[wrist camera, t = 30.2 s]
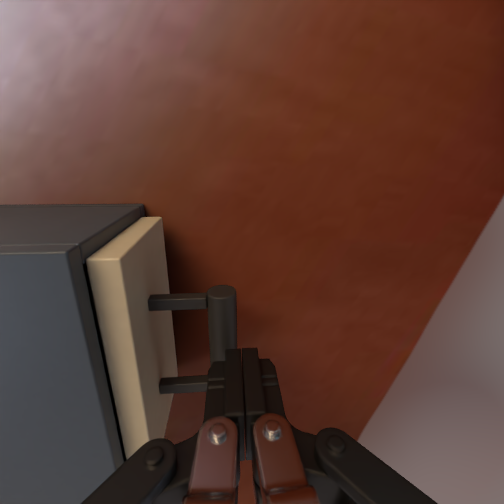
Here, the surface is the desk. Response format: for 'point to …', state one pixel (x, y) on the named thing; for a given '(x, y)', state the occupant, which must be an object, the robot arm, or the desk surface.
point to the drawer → (148, 329)
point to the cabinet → (54, 354)
